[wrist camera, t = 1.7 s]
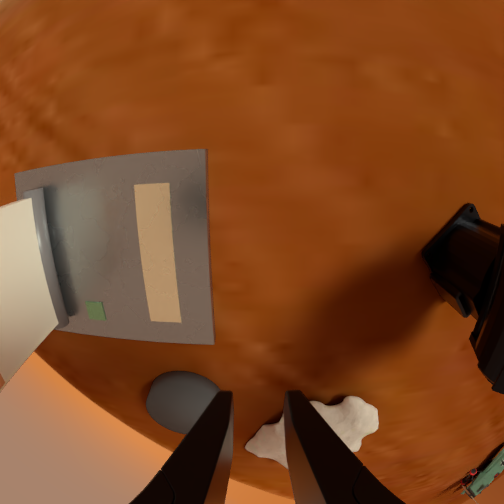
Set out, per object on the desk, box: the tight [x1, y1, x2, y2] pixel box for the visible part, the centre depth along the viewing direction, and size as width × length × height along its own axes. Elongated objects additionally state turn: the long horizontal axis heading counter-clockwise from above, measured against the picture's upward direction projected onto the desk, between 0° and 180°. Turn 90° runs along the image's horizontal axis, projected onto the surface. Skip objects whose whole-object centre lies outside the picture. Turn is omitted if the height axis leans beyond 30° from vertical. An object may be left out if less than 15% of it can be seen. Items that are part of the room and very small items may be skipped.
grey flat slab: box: [15, 149, 215, 345], centre depth 20 cm, size 16×14×1 cm
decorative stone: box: [245, 396, 379, 469], centre depth 26 cm, size 11×4×15 cm
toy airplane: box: [461, 449, 504, 503], centre depth 37 cm, size 22×25×11 cm
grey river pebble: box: [146, 371, 220, 434], centre depth 24 cm, size 7×7×2 cm
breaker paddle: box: [0, 187, 70, 392], centre depth 14 cm, size 2×11×11 cm, turn 0°
